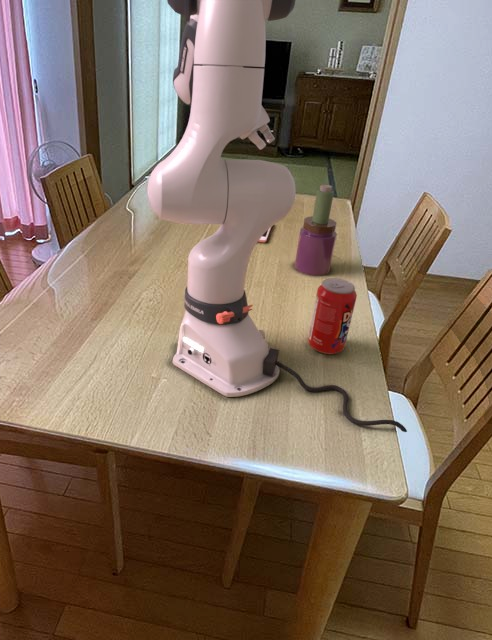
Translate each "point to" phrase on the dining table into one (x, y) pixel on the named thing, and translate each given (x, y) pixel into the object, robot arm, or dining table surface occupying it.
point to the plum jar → (315, 247)
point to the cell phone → (264, 236)
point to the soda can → (332, 315)
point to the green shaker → (323, 204)
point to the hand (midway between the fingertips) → (268, 144)
